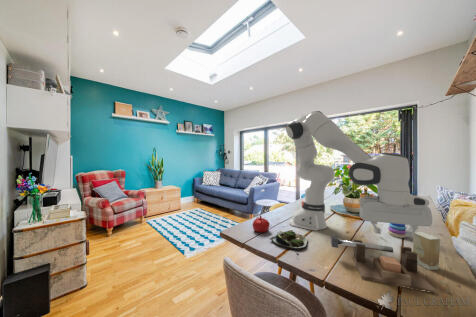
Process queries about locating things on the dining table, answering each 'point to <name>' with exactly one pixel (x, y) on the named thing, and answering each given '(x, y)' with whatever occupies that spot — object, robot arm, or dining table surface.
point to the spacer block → (390, 264)
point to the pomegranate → (260, 224)
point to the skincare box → (426, 250)
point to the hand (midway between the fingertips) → (393, 234)
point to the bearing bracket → (375, 272)
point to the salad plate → (290, 240)
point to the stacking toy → (397, 230)
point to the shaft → (336, 241)
